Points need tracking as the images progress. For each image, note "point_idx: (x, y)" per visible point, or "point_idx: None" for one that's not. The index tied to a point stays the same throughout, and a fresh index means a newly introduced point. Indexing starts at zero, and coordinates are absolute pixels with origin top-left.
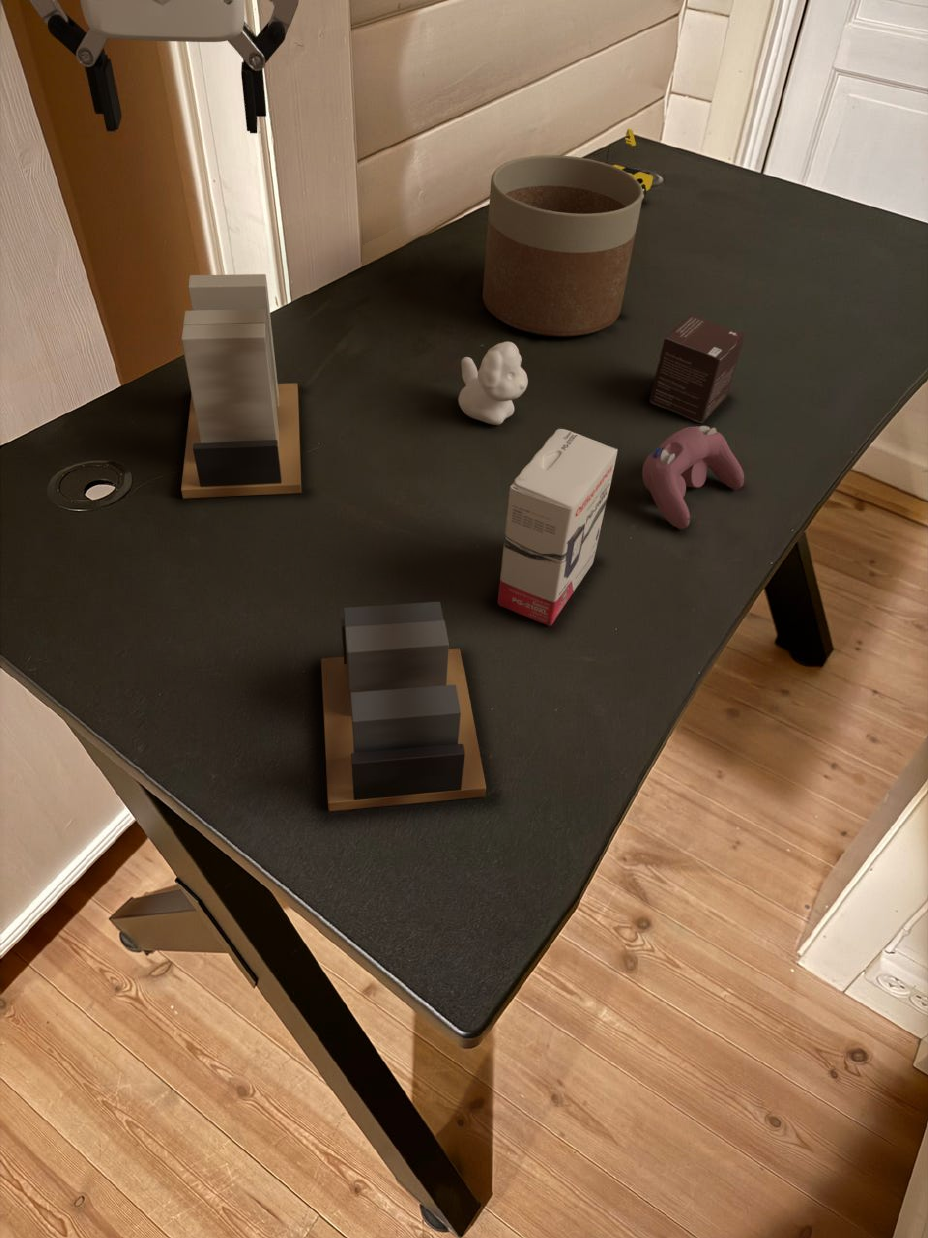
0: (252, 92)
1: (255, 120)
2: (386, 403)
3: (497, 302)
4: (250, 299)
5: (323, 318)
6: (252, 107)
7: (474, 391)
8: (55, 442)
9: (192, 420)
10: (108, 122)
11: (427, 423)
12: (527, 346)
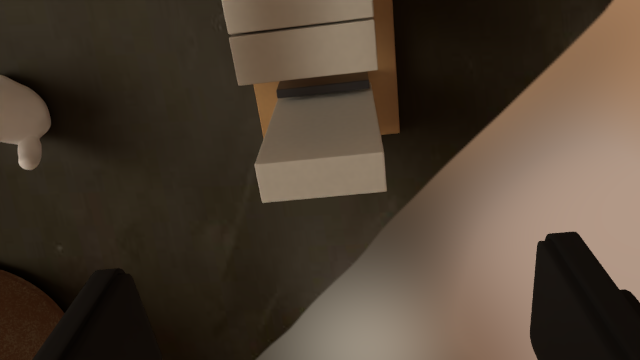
0: (37, 355)
1: (83, 290)
2: (150, 122)
3: (39, 310)
4: (284, 151)
5: (261, 293)
6: (66, 315)
7: (9, 105)
8: (570, 12)
9: (390, 54)
10: (572, 243)
11: (89, 80)
12: (5, 248)
